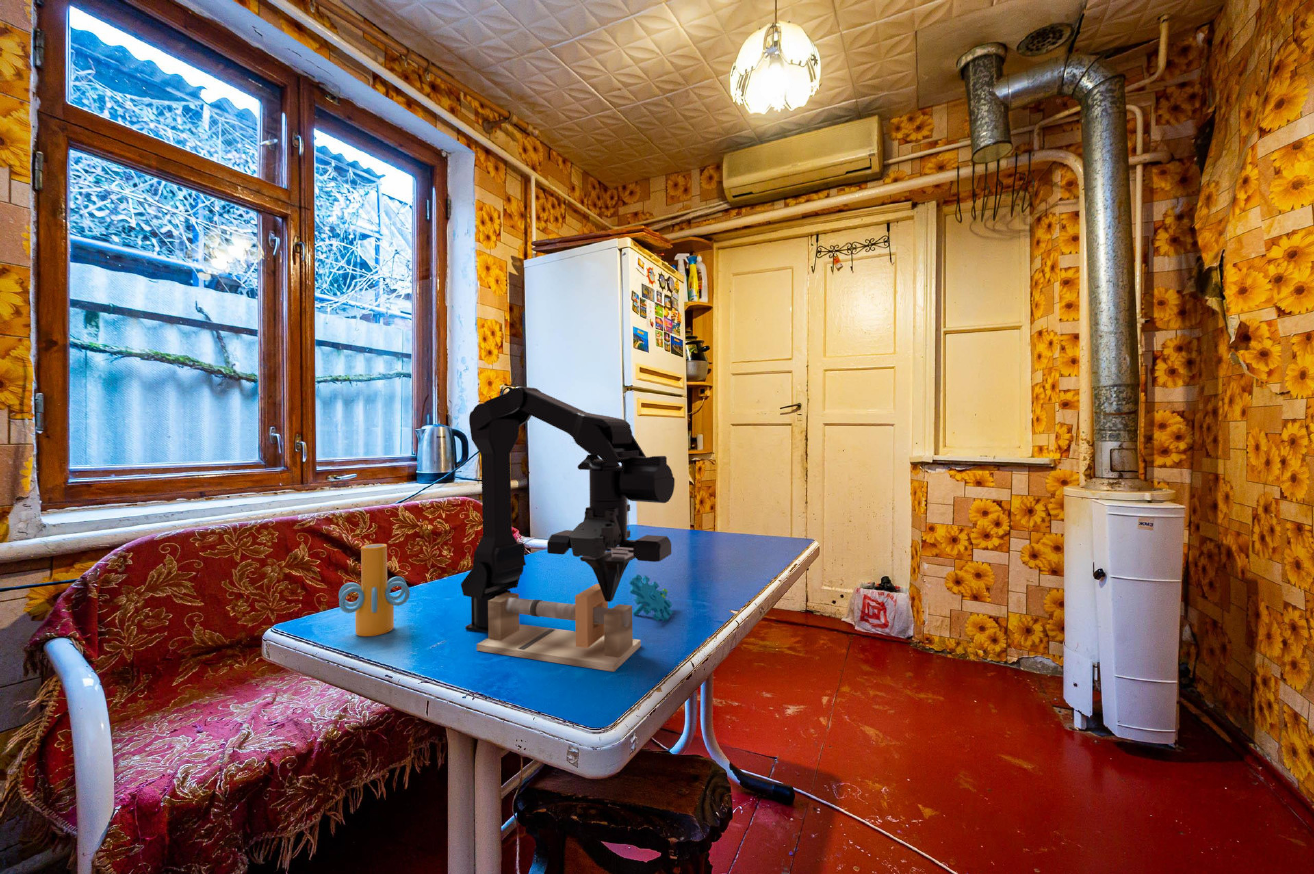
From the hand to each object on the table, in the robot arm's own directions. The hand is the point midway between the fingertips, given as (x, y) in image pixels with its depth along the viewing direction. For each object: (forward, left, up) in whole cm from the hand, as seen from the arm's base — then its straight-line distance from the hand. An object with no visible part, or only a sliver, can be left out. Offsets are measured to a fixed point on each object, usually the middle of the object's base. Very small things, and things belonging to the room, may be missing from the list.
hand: (609, 601), depth 82 cm
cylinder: (-44, -4, -9) cm, 45 cm away
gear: (0, +19, -9) cm, 21 cm away
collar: (-3, 0, -6) cm, 7 cm away
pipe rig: (-9, 0, -8) cm, 12 cm away
